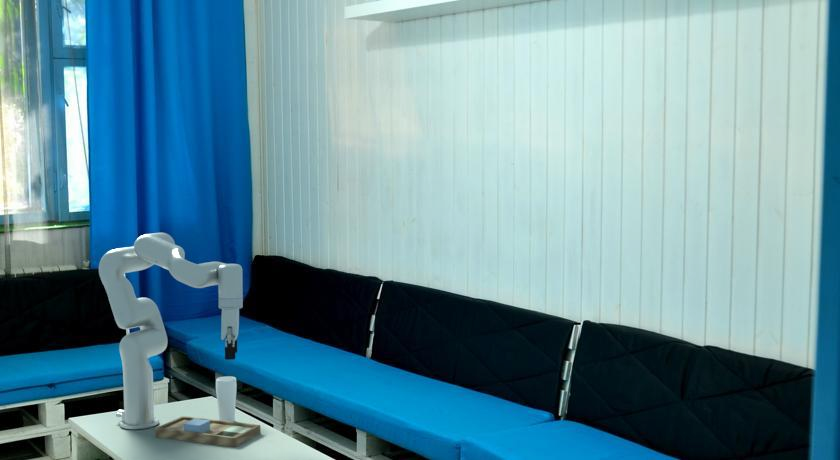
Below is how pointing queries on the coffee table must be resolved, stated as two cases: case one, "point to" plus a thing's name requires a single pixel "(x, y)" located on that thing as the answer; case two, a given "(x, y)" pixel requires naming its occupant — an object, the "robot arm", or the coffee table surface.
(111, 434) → the coffee table surface
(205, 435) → the box
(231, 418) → the drinking glass
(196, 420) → the block
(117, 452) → the coffee table surface
